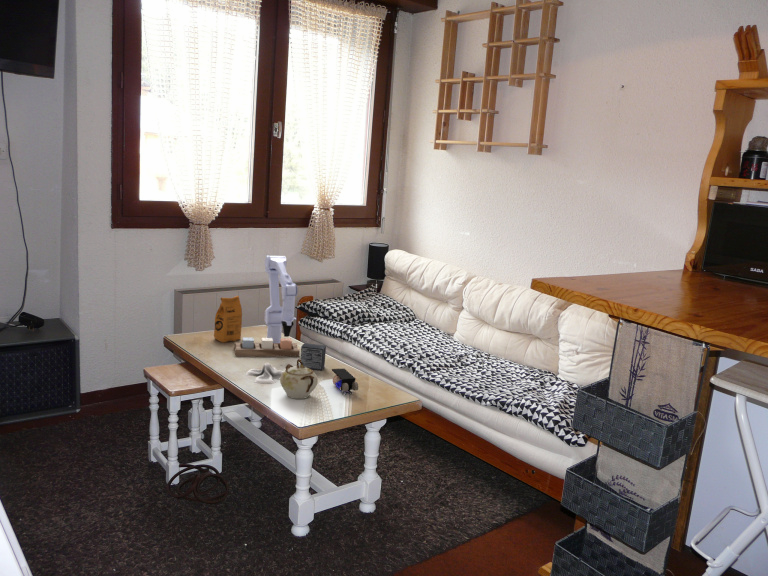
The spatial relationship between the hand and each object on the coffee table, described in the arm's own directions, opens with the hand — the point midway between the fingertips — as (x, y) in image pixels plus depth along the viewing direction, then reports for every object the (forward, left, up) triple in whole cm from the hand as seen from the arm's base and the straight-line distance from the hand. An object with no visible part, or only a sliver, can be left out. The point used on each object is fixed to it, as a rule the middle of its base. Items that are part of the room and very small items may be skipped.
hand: (286, 336), depth 314 cm
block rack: (0, -9, -8) cm, 12 cm away
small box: (+22, +10, -8) cm, 26 cm away
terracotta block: (0, 0, -6) cm, 6 cm away
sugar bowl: (+57, -1, -8) cm, 58 cm away
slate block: (0, -18, -6) cm, 19 cm away
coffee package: (-21, -27, -8) cm, 35 cm away
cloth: (+33, -10, -9) cm, 36 cm away
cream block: (0, -9, -6) cm, 11 cm away
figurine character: (+51, +19, -9) cm, 55 cm away
